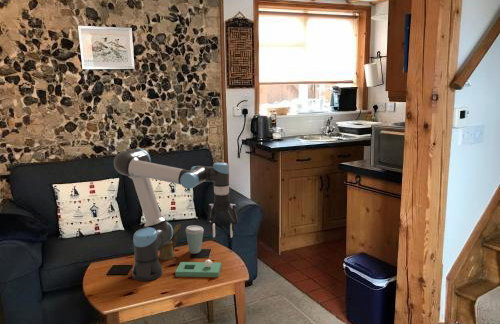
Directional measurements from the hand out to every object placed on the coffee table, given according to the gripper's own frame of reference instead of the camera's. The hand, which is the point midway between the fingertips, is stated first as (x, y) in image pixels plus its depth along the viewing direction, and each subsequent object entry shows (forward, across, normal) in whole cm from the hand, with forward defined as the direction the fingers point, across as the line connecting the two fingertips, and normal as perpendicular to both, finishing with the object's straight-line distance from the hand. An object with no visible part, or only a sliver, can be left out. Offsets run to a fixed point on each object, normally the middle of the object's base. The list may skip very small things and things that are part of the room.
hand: (222, 236), depth 210 cm
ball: (+15, -8, 0) cm, 17 cm away
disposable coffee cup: (+20, -20, +26) cm, 39 cm away
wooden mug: (+20, -33, +20) cm, 43 cm away
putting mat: (+19, -13, 0) cm, 23 cm away
